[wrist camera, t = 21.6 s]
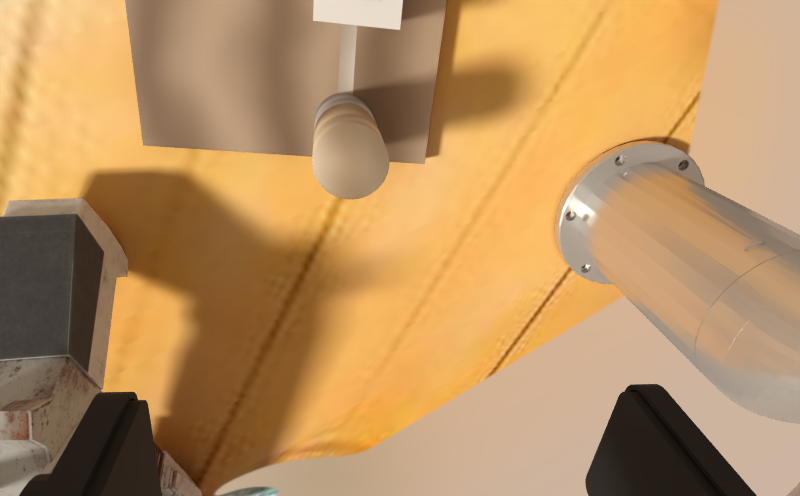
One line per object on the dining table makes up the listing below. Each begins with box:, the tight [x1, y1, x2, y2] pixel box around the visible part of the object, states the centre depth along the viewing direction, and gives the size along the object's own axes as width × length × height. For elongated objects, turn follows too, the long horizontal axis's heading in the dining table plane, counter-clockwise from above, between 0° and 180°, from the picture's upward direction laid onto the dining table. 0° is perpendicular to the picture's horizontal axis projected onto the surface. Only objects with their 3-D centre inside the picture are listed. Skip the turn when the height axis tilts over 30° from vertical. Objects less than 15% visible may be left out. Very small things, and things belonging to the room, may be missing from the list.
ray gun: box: [0, 198, 203, 496], centre depth 37 cm, size 7×32×20 cm, turn 0°
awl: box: [312, 93, 389, 199], centre depth 30 cm, size 4×4×9 cm
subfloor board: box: [125, 0, 447, 164], centre depth 31 cm, size 19×17×1 cm
